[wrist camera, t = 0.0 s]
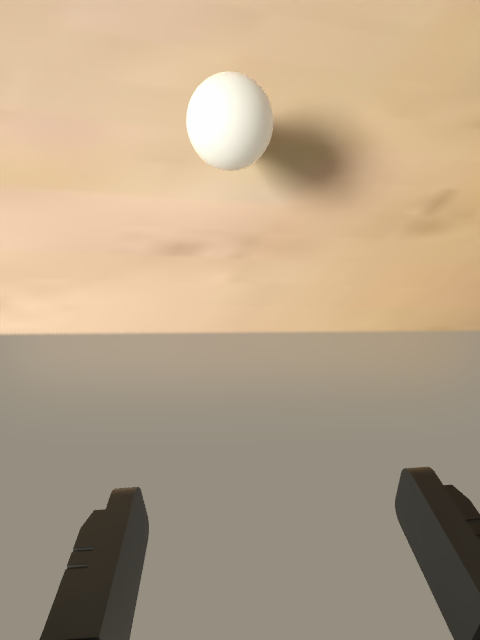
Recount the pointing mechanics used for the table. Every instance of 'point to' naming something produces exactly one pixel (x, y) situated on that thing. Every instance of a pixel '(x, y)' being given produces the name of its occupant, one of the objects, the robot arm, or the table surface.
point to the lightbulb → (229, 121)
